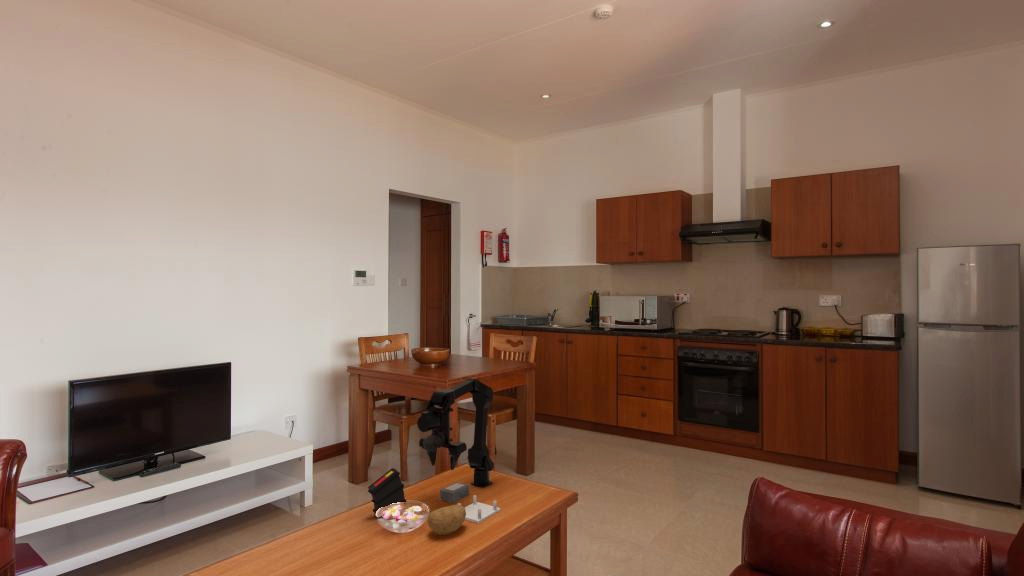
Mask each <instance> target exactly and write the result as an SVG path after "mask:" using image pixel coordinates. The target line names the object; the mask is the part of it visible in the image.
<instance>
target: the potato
mask: <svg viewBox="0 0 1024 576" xmlns="http://www.w3.org/2000/svg"><path fill="white" fill-rule="evenodd" d="M465 517H466V511H465V506H463V505H462V504H461V505H457V504H452V505H448V506H444V507H441V508H438V509H435V510H433V511H432V512H429V515H428V517H427V525H428V527H429V529H430V530H431V531H432V532H433V533H435V534H438V535H442V536H443V535H450V534H453V533H455V531H457V530H458V529H460V527H461V526H462V525H463V523H464V521H466V520H465Z"/></svg>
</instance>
